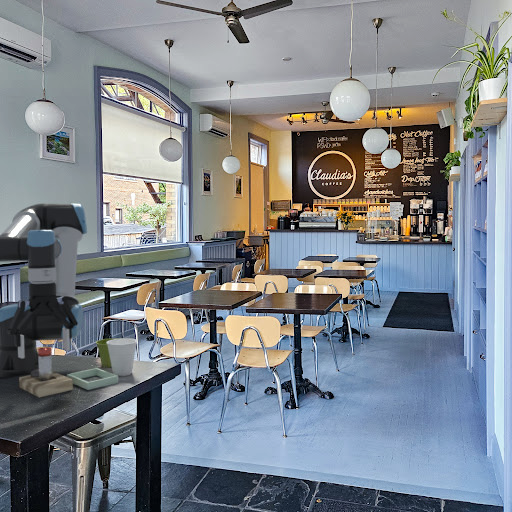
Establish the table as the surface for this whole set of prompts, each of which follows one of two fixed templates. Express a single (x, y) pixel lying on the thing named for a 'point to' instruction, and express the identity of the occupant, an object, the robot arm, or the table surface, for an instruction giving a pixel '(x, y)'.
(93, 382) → the tray
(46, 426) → the table surface
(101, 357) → the plant pot
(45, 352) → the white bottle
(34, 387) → the wooden block with hole
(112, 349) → the cup
